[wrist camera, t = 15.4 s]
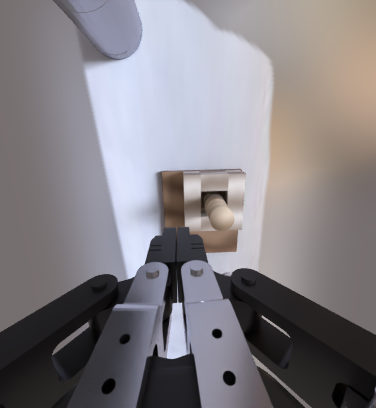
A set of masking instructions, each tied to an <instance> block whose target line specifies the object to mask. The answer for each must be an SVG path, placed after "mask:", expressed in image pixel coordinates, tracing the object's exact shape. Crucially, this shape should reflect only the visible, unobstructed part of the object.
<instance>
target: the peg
mask: <svg viewBox="0 0 376 408" xmlns="http://www.w3.org/2000/svg"><path fill="white" fill-rule="evenodd" d="M203 204H204V208H205V210H206V212H207V215H208V218H209V220H210V223H211V226H212V227H213V228H214V229H215V230H218V231H225V230H228V229H229V228H231V227H232V225H233V224H234V220H235V218H234V214H233V213H232V211H231V210H230V209H229V207H228V206H227V204H226V203H225V201H224V199H223V198H222V197H221V196H220V194H219V193H217V192H215V191H209V192H207V193H206V194H205V195H204V197H203Z"/></svg>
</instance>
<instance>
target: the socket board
mask: <svg viewBox="0 0 376 408" xmlns="http://www.w3.org/2000/svg"><path fill="white" fill-rule="evenodd" d="M245 178H246V173H244V172H242V170H241V169H220V170H184V171H162V185H163V200H164V216H165V228H169V227H176V230H177V227H189V231H190V235H191V234H198V235H199V236H200V237H201V238H202V239H203V243H204V248H205V252H206V253H215V252H236V250H237V236H238V230H242V217H243V204H244V191H245ZM209 191H215V192H217V193H219V194H220V196H221V197H222V198H223V199H224V201H225V203H226V204H227V206H228V207H229V209H230V210H231V211H232V213H233V214H234V218H235V220H234V224H233V225H232V227H231V228H229V229H228V230H225V231H218V230H215V229H214V228H213V227H212V226H211V223H210V220H209V218H208V215H207V212H206V210H205V208H204V204H203V197H204V195H205V194H206V193H207V192H209Z"/></svg>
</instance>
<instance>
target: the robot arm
mask: <svg viewBox="0 0 376 408" xmlns="http://www.w3.org/2000/svg"><path fill="white" fill-rule="evenodd" d="M53 1H54V2H55V3H56V4H57V5H58V6H59V7H60V8H61V9H62V10H63V11H64V13H65V14H66V15H67V16H68V17H69V18H70V19H71V20H72V21H73V22H74V23H75V25H76V26H77V27H78V28H79V29H80V30H81V31H82V32H83V33H84V34H85V35H86V37H87V38H88V39H89V40H90V41H91V42H92V43H93V44H94V45H95V46H96V47H97V48H98V49H99V50H100V51H101V52H102V53H103V54H105V55H106V56H108V57H110V58H113V59H124V58H126V57H129V56H130V55H132V54H133V53H134V52H135V51H136V50H137V48H138V46H139V44H140V41H141V37H142V24H141V20H140V16H139V13H138V10H137V7H136V4H135V0H53ZM177 280H178V301H179V303H181V302H182V308H183V324H184V333H185V342H186V351H187V355H185V356H182V357H179V358H176V359H167V350H168V342H169V334H170V326H171V313H172V304H173V303H177ZM262 315H263V316H264V317H266V318H267V319H269V320H270V321H271V322H273V323H274V324H276V325H277V326H279V327H280V328H281V329H283V330H284V331H285V332H287V334H288V335H289V336H290V338H289V337H288V336H287V335H285V334H284V333H283V332H281V331H280V330H278V329H277V328H276V327H274V326H273V325H271V324H270V323H268V322H267V321H266V320H264V319H263V318H262ZM87 322H88V323H89V328H87V329H86V330H85V331H83V332H82V333H81V334H80V335H78V336H77V337H76V338H74V339H73V340H72V341H71V342H69V343H68V344H67V345H66V346H64V347H63V348H62V349H61V350H59V351H58V352H57V353H55V354H54V355H52V353H53V351H54V349H55V348H56V346H57V345H58V344H59V343H60V342H62V341H63V340H64V339H65V338H67V337H68V336H69V335H71V334H72V333H73V332H75V331H76V330H77V329H78V328H80V327H81V326H83V325H84V324H85V323H87ZM252 355H253V356H255V357H256V358H257V359H258V360H259V361H260V362H261V363H263V364H264V365H265V366H266V367H267V368H268V369H269V370H270V371H272V372H273V373H274V374H275V375H276V376H277V377H278V378H279V379H280V380H282V381H283V382H284V383H285V384H286V385H287V386H288V387H289V388H291V389H292V390H293V391H294V392H295V393H296V394H297V395H298V396H299V397H301V398H302V399H303V400H304V401H305V402H306V403H307V404H308V405H310V406H311V407H312V408H376V335H375V334H373V333H371V332H369V331H367V330H365V329H363V328H362V327H360V326H358V325H356V324H354V323H352V322H350V321H348V320H347V319H345V318H343V317H341V316H339V315H337V314H335V313H333V312H331V311H330V310H328V309H326V308H324V307H322V306H321V305H319V304H317V303H315V302H313V301H311V300H309V299H307V298H305V297H304V296H302V295H300V294H298V293H296V292H294V291H292V290H291V289H289V288H287V287H285V286H283V285H281V284H279V283H277V282H276V281H274V280H272V279H270V278H268V277H266V276H265V275H263V274H261V273H259V272H257V271H255V270H252V269H247V268H241V269H237V270H235V271H234V272H233V273H232V275H231V276H227V275H222V274H219V273H216V272H215V271H213V270H212V267H211V266H210V265H209V264H208V261H207V256H206V252H205V248H204V243H203V239H202V238H201V237H200V236H199V235H198V234H191V235H190V231H189V227H177V230H176V227H169V228H164V233H163V236H155V237H154V238H153V239H152V240H151V243H150V247H149V251H148V254H147V258H146V261H145V265H143V266H141V267H140V268H139V269H138V271H137V273H136V276H135V277H133V278H131V279H128V280H124V281H121V282H118V280H117V278H116V277H115V276H113V275H110V274H103V275H98V276H95V277H93V278H91V279H89V280H88V281H86V282H84V283H83V284H81V285H79V286H78V287H76V288H74V289H73V290H71V291H69V292H67V293H66V294H64V295H62V296H61V297H59V298H57V299H56V300H54V301H52V302H51V303H49V304H47V305H46V306H44V307H42V308H41V309H39V310H37V311H35V312H34V313H32V314H30V315H29V316H27V317H25V318H24V319H22V320H20V321H19V322H17V323H15V324H14V325H12V326H10V327H8V328H7V329H5V330H4V331H2V332H0V408H305V407H304V406H303V405H302V404H301V403H300V402H299V401H298V400H297V399H295V397H294V396H292V395H291V394H290V393H289V392H288V391H287V390H286V389H285V388H284V387H283V386H282V385H281V384H280V383H279V382H278V381H277V380H276V379H274V378H273V377H272V376H271V375H270V374H268V373H267V372H266V371H264V370H263V369H261V368H260V367H258V366H256V364H255V361H254V359H253V356H252Z"/></svg>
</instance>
